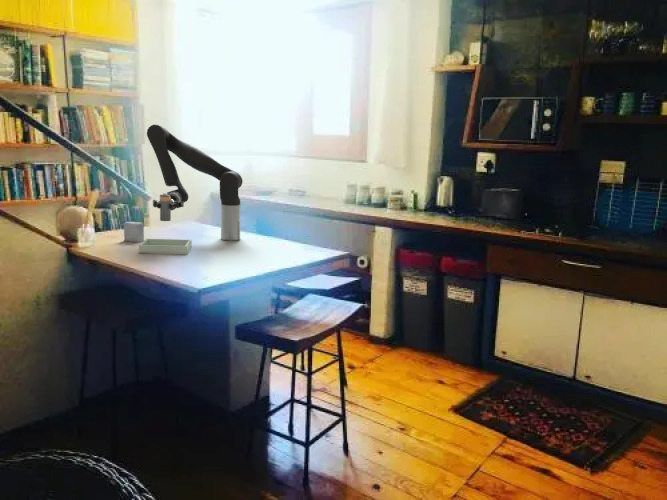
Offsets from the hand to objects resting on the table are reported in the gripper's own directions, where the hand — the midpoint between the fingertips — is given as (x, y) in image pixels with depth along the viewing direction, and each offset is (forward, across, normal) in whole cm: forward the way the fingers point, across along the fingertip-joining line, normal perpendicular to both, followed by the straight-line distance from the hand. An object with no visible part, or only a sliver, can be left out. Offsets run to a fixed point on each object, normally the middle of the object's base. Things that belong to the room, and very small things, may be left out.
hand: (164, 206), depth 241 cm
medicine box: (-22, -18, +20) cm, 35 cm away
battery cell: (-2, 0, +6) cm, 7 cm away
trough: (-2, 0, +20) cm, 20 cm away
